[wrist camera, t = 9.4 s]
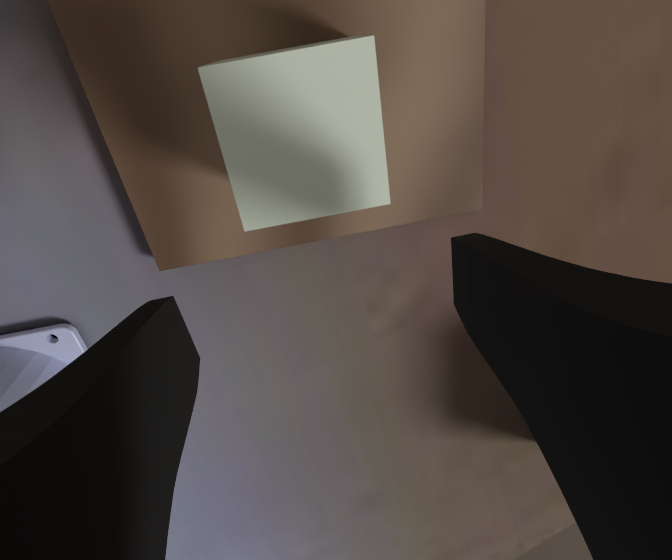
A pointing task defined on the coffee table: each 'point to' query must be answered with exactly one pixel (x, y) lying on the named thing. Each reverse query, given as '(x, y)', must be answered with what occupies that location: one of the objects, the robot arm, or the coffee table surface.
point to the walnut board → (258, 37)
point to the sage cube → (300, 130)
